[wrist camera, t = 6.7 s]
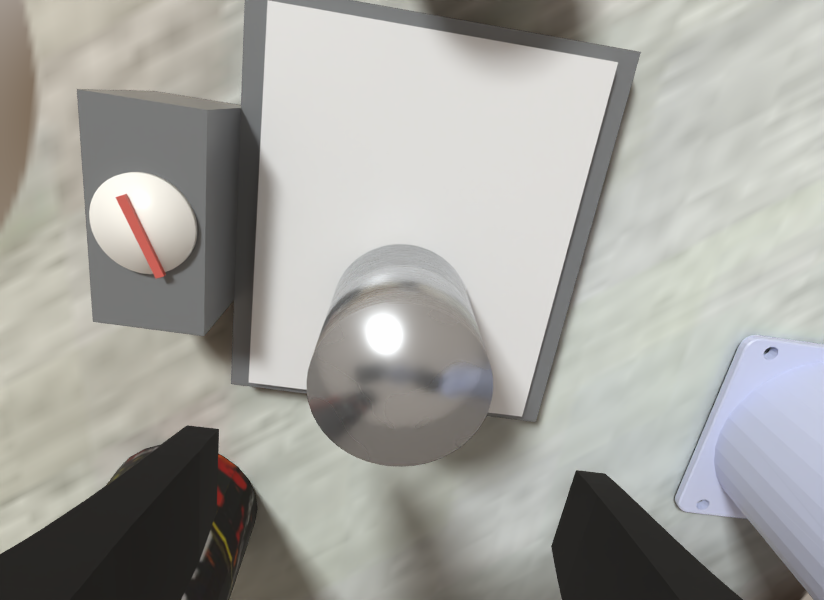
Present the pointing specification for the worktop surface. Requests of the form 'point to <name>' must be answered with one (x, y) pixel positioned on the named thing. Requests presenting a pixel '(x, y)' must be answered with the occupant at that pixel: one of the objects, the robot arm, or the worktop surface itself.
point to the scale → (355, 182)
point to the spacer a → (400, 360)
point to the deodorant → (219, 531)
